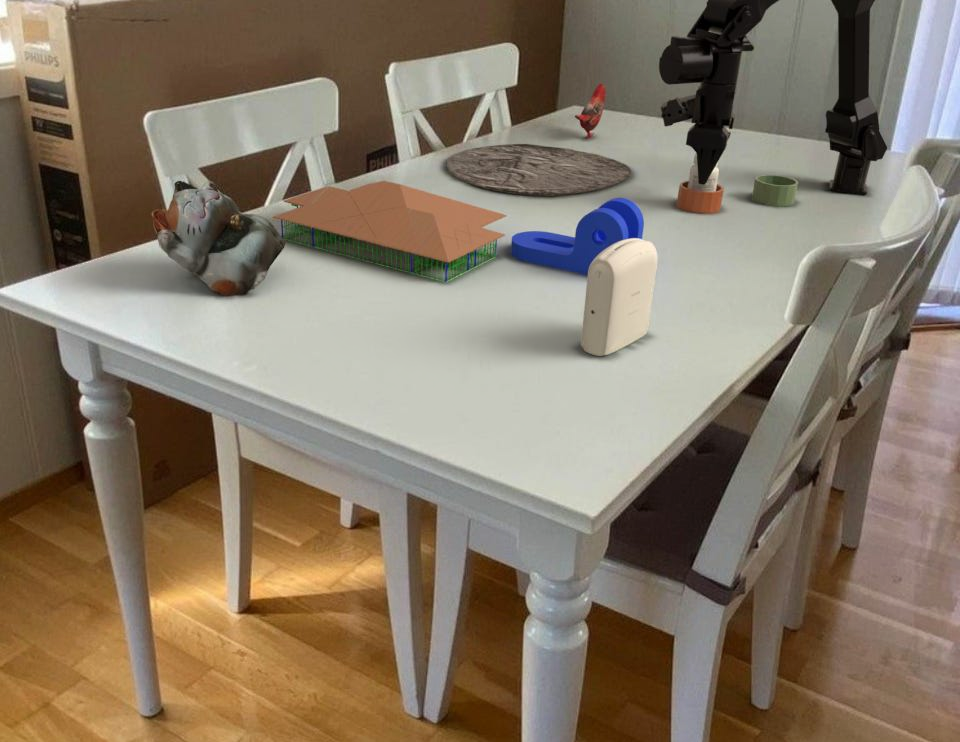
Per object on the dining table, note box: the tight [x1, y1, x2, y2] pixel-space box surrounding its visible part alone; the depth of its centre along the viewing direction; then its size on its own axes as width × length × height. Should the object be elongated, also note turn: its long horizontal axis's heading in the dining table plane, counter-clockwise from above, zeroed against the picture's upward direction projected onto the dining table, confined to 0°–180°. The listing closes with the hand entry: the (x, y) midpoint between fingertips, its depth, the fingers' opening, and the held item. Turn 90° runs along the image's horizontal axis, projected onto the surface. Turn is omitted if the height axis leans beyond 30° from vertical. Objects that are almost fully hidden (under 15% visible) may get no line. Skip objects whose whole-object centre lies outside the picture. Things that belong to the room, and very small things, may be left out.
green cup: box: [751, 174, 799, 207], centre depth 178 cm, size 7×7×4 cm
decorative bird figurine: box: [574, 83, 607, 140], centre depth 209 cm, size 3×18×10 cm, turn 156°
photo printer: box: [580, 238, 659, 357], centre depth 119 cm, size 10×4×12 cm, turn 140°
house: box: [272, 180, 507, 283], centre depth 149 cm, size 23×33×8 cm
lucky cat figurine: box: [150, 180, 287, 297], centre depth 131 cm, size 15×12×14 cm
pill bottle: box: [688, 153, 720, 192], centre depth 171 cm, size 5×5×8 cm
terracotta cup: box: [676, 180, 725, 214], centre depth 172 cm, size 7×7×4 cm
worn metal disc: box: [445, 143, 632, 197], centre depth 189 cm, size 33×35×1 cm
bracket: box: [510, 197, 645, 276], centre depth 145 cm, size 18×8×9 cm, turn 63°
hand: (703, 180), depth 171 cm, fingers closed on pill bottle, 5 cm apart
